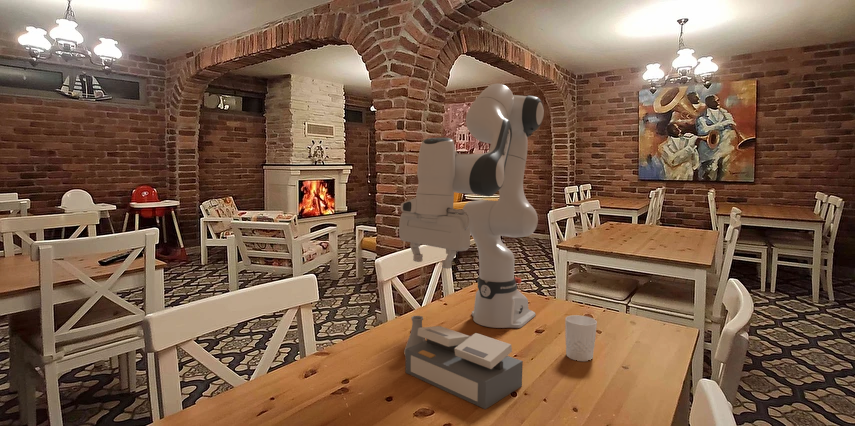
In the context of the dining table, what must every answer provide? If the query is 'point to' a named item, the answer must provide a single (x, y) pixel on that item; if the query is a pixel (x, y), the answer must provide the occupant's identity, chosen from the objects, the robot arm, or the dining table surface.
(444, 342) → the switch
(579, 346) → the white cup
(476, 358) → the switch
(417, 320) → the flask
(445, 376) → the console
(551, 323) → the dining table surface
